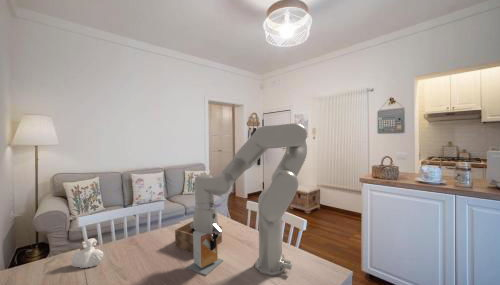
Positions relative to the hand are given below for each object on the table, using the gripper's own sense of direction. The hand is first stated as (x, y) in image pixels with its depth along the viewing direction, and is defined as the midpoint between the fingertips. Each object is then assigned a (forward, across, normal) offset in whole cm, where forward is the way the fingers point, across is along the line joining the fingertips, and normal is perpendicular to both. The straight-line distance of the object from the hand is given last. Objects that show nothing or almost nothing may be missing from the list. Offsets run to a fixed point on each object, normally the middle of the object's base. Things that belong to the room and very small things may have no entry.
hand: (205, 246), depth 90 cm
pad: (+8, 0, 0) cm, 8 cm away
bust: (+8, +45, +23) cm, 51 cm away
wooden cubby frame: (+8, +15, -12) cm, 20 cm away
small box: (+7, 0, 0) cm, 7 cm away
